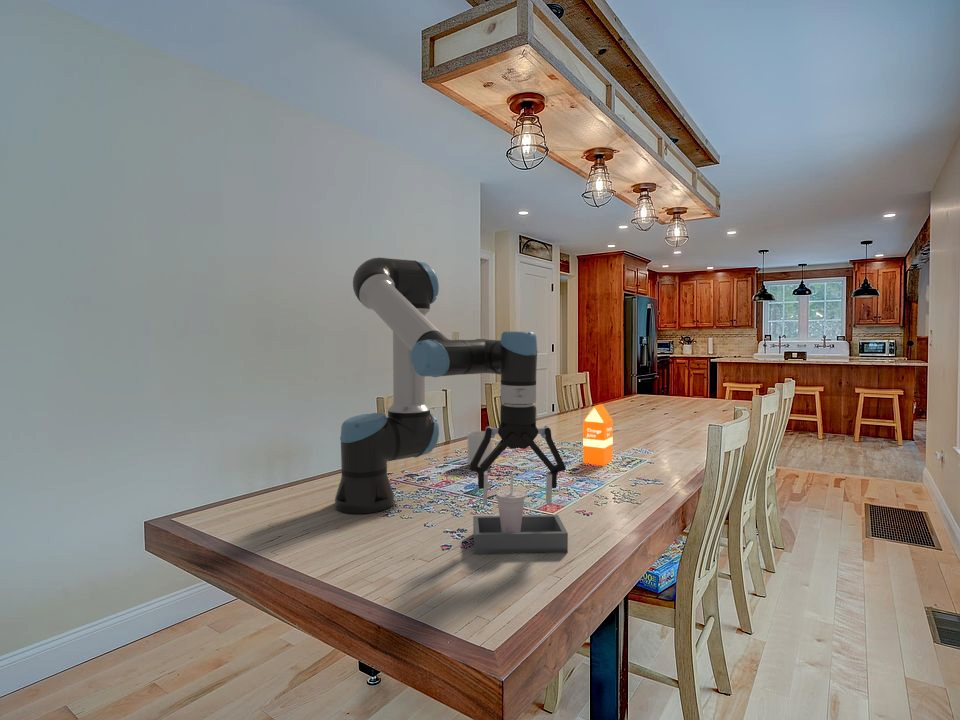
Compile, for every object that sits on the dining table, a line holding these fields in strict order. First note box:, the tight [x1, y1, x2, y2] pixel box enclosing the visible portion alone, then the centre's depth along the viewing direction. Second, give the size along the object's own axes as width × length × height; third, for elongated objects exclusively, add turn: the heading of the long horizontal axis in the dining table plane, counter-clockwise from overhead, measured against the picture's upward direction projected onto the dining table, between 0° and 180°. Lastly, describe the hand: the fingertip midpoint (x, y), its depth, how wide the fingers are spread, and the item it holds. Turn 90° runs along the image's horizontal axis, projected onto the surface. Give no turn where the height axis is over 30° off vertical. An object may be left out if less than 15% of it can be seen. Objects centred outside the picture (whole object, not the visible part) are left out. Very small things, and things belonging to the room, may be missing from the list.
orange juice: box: [582, 403, 614, 467], centre depth 184 cm, size 8×9×20 cm
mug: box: [466, 430, 501, 468], centre depth 178 cm, size 12×9×11 cm
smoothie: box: [495, 473, 527, 532], centre depth 112 cm, size 6×6×14 cm
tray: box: [472, 514, 569, 555], centre depth 113 cm, size 11×19×4 cm, turn 92°
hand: (517, 503), depth 113 cm, fingers open, 13 cm apart
